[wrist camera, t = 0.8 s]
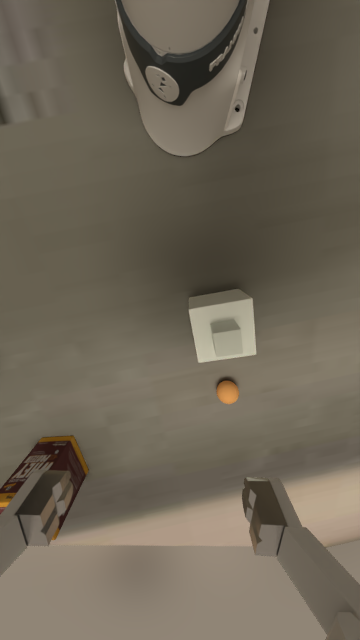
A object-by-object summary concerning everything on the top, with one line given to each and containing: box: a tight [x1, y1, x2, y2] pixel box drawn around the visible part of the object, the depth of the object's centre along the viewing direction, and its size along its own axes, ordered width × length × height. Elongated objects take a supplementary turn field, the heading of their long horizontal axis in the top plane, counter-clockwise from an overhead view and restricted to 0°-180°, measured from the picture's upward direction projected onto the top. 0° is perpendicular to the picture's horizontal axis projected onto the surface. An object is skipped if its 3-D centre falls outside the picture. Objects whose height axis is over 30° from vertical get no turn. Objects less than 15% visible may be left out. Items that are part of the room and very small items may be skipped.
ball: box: [217, 381, 239, 404], centre depth 43 cm, size 5×5×5 cm
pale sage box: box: [189, 289, 256, 363], centre depth 33 cm, size 10×10×13 cm
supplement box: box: [0, 436, 88, 540], centre depth 49 cm, size 10×15×16 cm
